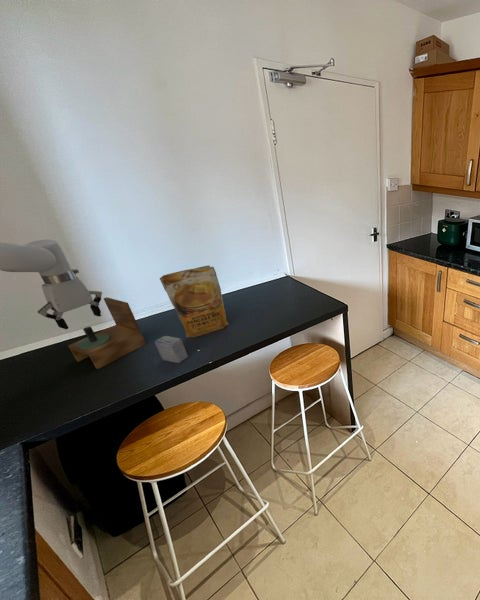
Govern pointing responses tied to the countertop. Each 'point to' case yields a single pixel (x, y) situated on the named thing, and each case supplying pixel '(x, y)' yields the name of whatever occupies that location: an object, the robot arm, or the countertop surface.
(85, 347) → the lid
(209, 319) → the pancake mix bag
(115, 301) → the wooden bookend
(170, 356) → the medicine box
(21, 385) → the countertop surface
